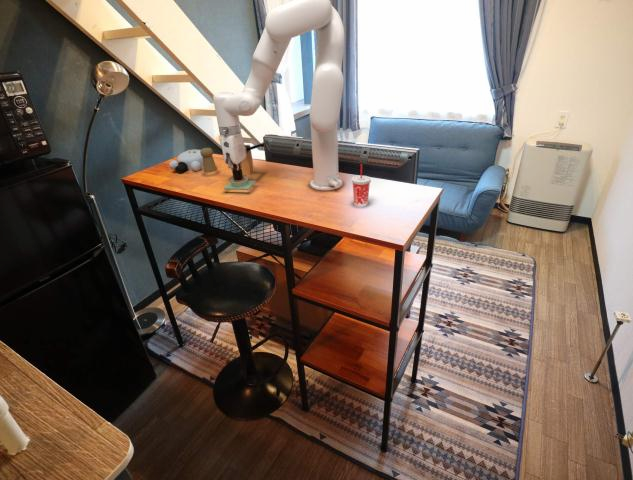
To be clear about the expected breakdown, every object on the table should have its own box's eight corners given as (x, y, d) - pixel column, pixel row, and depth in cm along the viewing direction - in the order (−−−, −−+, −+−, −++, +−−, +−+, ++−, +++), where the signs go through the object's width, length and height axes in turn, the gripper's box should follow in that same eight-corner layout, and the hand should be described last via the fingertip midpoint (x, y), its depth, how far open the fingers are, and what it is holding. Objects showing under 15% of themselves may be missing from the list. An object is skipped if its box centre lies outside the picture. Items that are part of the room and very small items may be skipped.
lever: (269, 144, 139) (266, 138, 138) (265, 147, 135) (262, 142, 134) (244, 152, 143) (241, 147, 142) (239, 156, 139) (236, 150, 138)
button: (246, 182, 133) (245, 177, 132) (242, 185, 130) (241, 181, 129) (237, 181, 134) (236, 177, 133) (233, 185, 131) (232, 180, 130)
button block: (256, 185, 136) (255, 176, 134) (249, 193, 129) (247, 183, 127) (233, 185, 138) (231, 175, 136) (224, 193, 131) (222, 183, 129)
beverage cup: (348, 202, 117) (348, 162, 110) (364, 198, 119) (364, 159, 112) (357, 209, 113) (357, 168, 105) (373, 205, 115) (374, 164, 107)
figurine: (190, 160, 168) (165, 179, 153) (184, 143, 163) (158, 161, 148) (221, 162, 164) (198, 181, 149) (216, 144, 159) (192, 163, 143)
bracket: (264, 173, 148) (260, 143, 142) (257, 180, 141) (252, 149, 134) (238, 172, 151) (233, 143, 144) (230, 179, 143) (224, 149, 137)
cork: (220, 170, 154) (215, 146, 148) (215, 175, 149) (209, 150, 143) (207, 171, 155) (201, 146, 149) (202, 175, 150) (196, 150, 144)
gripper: (231, 135, 115) (240, 187, 124) (247, 125, 127) (254, 172, 137) (210, 135, 116) (220, 186, 126) (229, 125, 129) (237, 172, 138)
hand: (238, 179), depth 131 cm, fingers closed
